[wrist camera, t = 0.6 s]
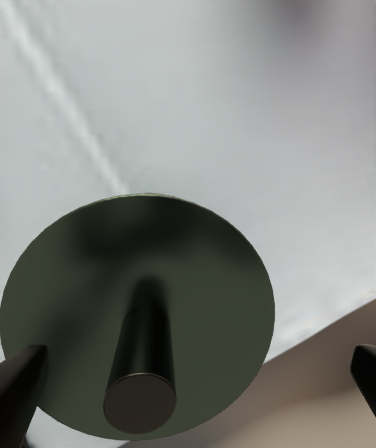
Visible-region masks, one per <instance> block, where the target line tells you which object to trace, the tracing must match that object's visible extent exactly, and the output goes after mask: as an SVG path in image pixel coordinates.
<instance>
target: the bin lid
mask: <svg viewBox="0 0 376 448" xmlns="http://www.w3.org/2000/svg"><path fill="white" fill-rule="evenodd" d="M274 322H275V302H274V296H273V290H272V285H271V282H270V279H269V276H268V273H267V270H266V268H265V266H264V264H263V262H262V260H261V258H260V256H259V255H258V253H257V252H256V250H255V249H254V247H253V246H252V244H251V243H250V242H249V241H248V240H247V239H246V238H245V237H244V235H243V234H242V233H241V232H240V231H239V230H237V229H236V228H235V227H234V226H233V225H232V224H230V223H229V222H228V221H227V220H225V219H224V218H222V217H220V216H219V215H217V214H216V213H214V212H213V211H211V210H209V209H207V208H205V207H202V206H200V205H198V204H196V203H193V202H190V201H187V200H184V199H180V198H177V197H171V196H165V195H159V194H130V195H119V196H115V197H110V198H106V199H102V200H99V201H96V202H93V203H90V204H88V205H85V206H82V207H80V208H78V209H76V210H74V211H72V212H70V213H68V214H66V215H65V216H63V217H61V218H60V219H58V220H57V221H55V222H54V223H53V224H51V225H50V226H48V227H47V228H46V229H45V230H44V231H43V232H41V233H40V234H39V235H38V236H37V237H36V238H35V239H34V240H33V241H32V242H31V243H30V245H29V246H28V247H27V248H26V250H25V251H24V252H23V254H22V255H21V256H20V257H19V259H18V261H17V263H16V264H15V266H14V268H13V270H12V271H11V273H10V276H9V278H8V281H7V284H6V286H5V289H4V292H3V297H2V302H1V306H0V338H1V345H2V348H3V352H4V356H5V359H7V358H9V357H11V356H12V355H14V354H15V353H17V352H19V351H20V350H22V349H23V348H25V347H27V346H28V345H32V344H44V345H46V346H47V348H48V358H49V376H48V379H47V382H46V385H45V387H44V390H43V392H42V395H41V397H40V400H39V402H38V405H37V406H38V407H39V408H40V409H41V410H43V411H44V412H45V413H46V414H48V415H49V416H51V417H52V418H54V419H55V420H57V421H58V422H60V423H62V424H64V425H66V426H68V427H70V428H72V429H75V430H77V431H80V432H83V433H86V434H89V435H93V436H97V437H101V438H106V439H114V440H130V441H138V440H149V439H157V438H161V437H167V436H171V435H174V434H177V433H181V432H184V431H186V430H189V429H191V428H194V427H196V426H198V425H200V424H202V423H204V422H206V421H207V420H209V419H211V418H213V417H214V416H216V415H217V414H219V413H220V412H222V411H223V410H224V409H226V408H227V407H228V406H229V405H230V404H232V403H233V402H234V401H235V400H236V399H237V398H238V397H239V396H240V395H241V394H242V393H243V392H244V391H245V390H246V388H247V387H248V386H249V385H250V383H251V382H252V380H253V379H254V377H255V376H256V375H257V373H258V371H259V369H260V368H261V366H262V364H263V362H264V360H265V357H266V355H267V352H268V350H269V347H270V343H271V339H272V336H273V330H274Z"/></svg>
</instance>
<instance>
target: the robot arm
mask: <svg viewBox="0 0 376 448" xmlns="http://www.w3.org/2000/svg"><path fill="white" fill-rule="evenodd" d="M350 372H351V375H352V377H353V379H354V381H355V382H356V384H357V386H358V388H359V389H360V391H361V393H362V395H363V396H364V398H365V400H366V401H367V403H368V405H369V407H370V408H371V410H372V412H373V413H374V415H375V417H376V347H375V346H373V345H370V344H359V345H356V347H355V348H354V352H353V356H352V360H351V363H350ZM48 376H49V358H48V348H47V346H46V345H44V344H32V345H28V346H27V347H25V348H23V349H22V350H20V351H19V352H17V353H15V354H14V355H12V356H11V357H9V358H7V359H6V360H4V361H3V362H1V363H0V448H28V447H27V444H26V441H25V438H24V437H25V435H26V432H27V430H28V427H29V425H30V422H31V420H32V417H33V415H34V412H35V410H36V407H37V405H38V402H39V400H40V397H41V395H42V392H43V390H44V387H45V385H46V382H47V379H48Z"/></svg>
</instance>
